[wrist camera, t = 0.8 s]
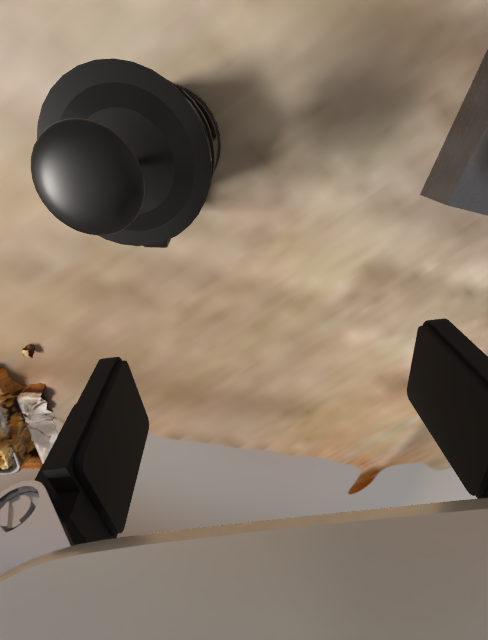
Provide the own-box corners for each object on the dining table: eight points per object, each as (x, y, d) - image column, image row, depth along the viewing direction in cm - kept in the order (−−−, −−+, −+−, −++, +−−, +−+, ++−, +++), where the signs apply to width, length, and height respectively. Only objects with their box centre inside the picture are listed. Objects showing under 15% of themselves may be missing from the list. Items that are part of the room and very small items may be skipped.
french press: (112, 71, 30) (-120, -22, 10) (220, 77, 30) (209, 0, 10) (129, 210, 36) (8, 326, 16) (220, 213, 36) (212, 328, 16)
